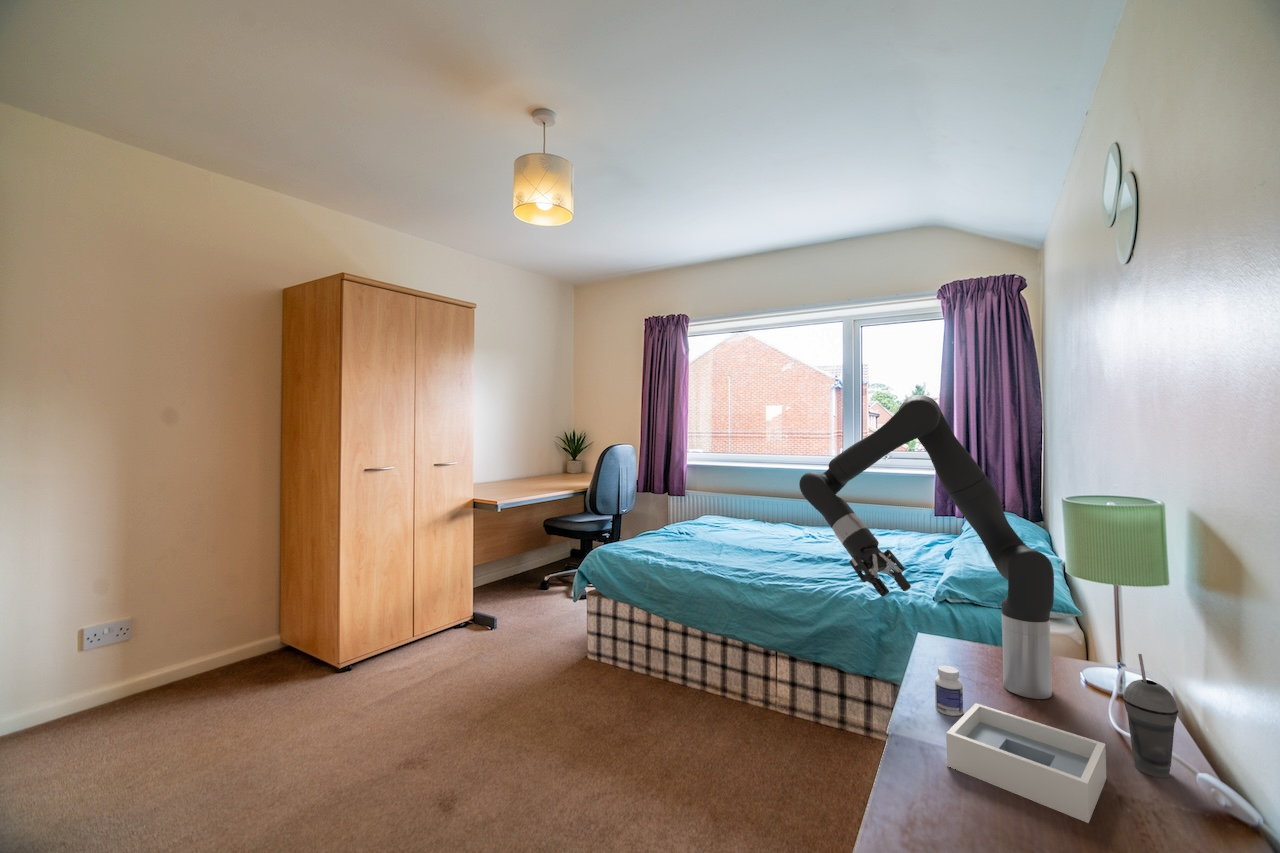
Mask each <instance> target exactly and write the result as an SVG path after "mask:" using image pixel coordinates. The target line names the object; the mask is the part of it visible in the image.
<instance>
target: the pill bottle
mask: <svg viewBox="0 0 1280 853" xmlns="http://www.w3.org/2000/svg"><path fill="white" fill-rule="evenodd" d="M959 672H960V671H959V669H958V668H956V667H953V666H950V665H939V666H938V667H937V674H938V675H937V676H936V677H935V679H934V691H935V692H934V693H935V694H934V698H935V699H934V700H935V703H934V704H935V709H936V711H938V712H939V713H942V714H944V715H946V716H950V717H951V716H954V717H959V716H963V715H964V697H963V696H964V693H963V683H962V681H961V680H960V673H959Z"/></svg>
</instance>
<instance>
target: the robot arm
mask: <svg viewBox="0 0 1280 853" xmlns="http://www.w3.org/2000/svg"><path fill="white" fill-rule="evenodd" d="M914 440H918V441H919V443H920V444H921V445H922V446H923V448H924V450H926V451H925V452H926V453H927V454H928V456H929V458H930V461H931V463H932V465H933V468H934V470H935V472H936V475H937V477H938V479H939V480H940V482H941V485H942V487H943V488H944V490H945V492H946V493H947V494H948V496H949V497H950V499H951V500H952V502H953V504H954V505H955V506H956V508H957V509H958V510H959V512H960V513H961V515H962V516H963V517H964V518H965V520H966V521H967V523H968V524H969V525H970V526H971V527H972V528H973V530H974V531H975V533H976V534H977V535H978V537H979V538H980V540H981V542H982V544H983V545H984V547H985V549H986V551H987V553H988V554H989V558H991V560H992V562H993V565H994V566H995V568H996V570H997V571H998V573H999V574H1000V575H1001V576H1002V577H1003V578H1004V579H1005V580H1007V597H1006V598H1005V599H1003V600H1002V601H1001V634H1002V636H1001V639H1002V640H1001V641H1002V642H1001V643H1002V675H1003V676H1002V678H1003V679H1002V680H1003V682H1002V683H1003V687H1004V689H1005V690H1007V691H1008V692H1011V693H1012V694H1015V695H1017V696H1020V697H1025V698H1029V699H1036V700H1046V699H1049V698H1052V696H1053V692H1052V691H1053V688H1052V655H1051V654H1052V653H1051V652H1052V647H1051V617H1050V616H1051V612H1052V609H1053V607H1054V602H1055V601H1054V598H1055V572H1054V567H1053V564H1052V562H1051V560H1050V559H1049V557H1048V556H1046V555H1045V554H1044V553H1042V552H1041V551H1038V550H1036V549H1033V548H1031V547H1029V546H1028V545H1027V544H1026V543H1025V542H1024V541H1023V540H1022V539H1021V538H1020V537H1019V535H1018V534H1017V533H1016V531H1015V530H1014V529H1013V527H1012V526H1011V523H1009V521H1008V519H1007V517H1006V514H1005V512H1004V507H1003V504H1002V502H1001V501H1002V500H1001V498H1000V496H999V494H998V492H997V490H996V489H995V487H994V486H993V484H992V482H991V481H990V480H989V478H988V476H987V475H986V474H985V472H984V471H983V469H982V468H981V467H980V466H979V464H978V463H977V461H976V460H975V459H974V458H973V457H972V455H971V454H970V453H969V451H967V449H966V448H965V447H964V445H962V444H961V442H960V441H959V440H958V438H957V437H956V436H955V433H954V432H953V431H952V429H951V427H950V425H949V424H948V422H947V420H946V418H945V416H944V414H943V412H942V410H941V408H940V406H939V404H938V403H937V402H936V400H934V399H933V398H931V397H929V396H928V395H924V394H914V395H911V396H910V397H909V396H908V397H907V398H906V399H905V400H904V401H903V402H902V403H901V405H900V406H899V408H898V409H897V411H896V412H895V414H893V416H891V418H890V419H889V420H887V421H886V422H885V423H884V424H883V425H882V426H881V427H879V428H878V429H877V430H876V431H875V430H874V432H873V433H870V434H869V435H867V436H866V437H864V438H862V439H861V440H859V441H857V442H855V443H854V444H852V445H851V446H849V447H848V448H845V450H844V451H842V452H840V453H839V454H838V455H837V456H835V457H833V459H831V461H829V463H828V469H827V470H825V471H824V472H823V473H818V472H815V471H813V472H812V471H811V472H807V473H804V474H803V475H802V476H801V477H800V479H799V490H800V492H801V494H802V495H803V498H804V499H806V501H807V502H809V504H810V505H811V506H812V507H813V508H814V509H815V510H816V511H817V512H819V513H820V514H821V515H822V517H823V519H824V520H825V521H826V522H827V524H828V525H829V526H830V528H831V529H832V531H833V532H834V535H835V536H836V538H837V539H838V541H839V542H840V543H841V545H842V546H843V547H844V549H845V550H846V552H848V554H849V555H850V557H851V559H850V560H849V564H850V565H851V567H852V569H853V570H854V572H855V573H856V574H857V576H858V577H859V579H860V580H861V582H862V583H867V582H868V584H870V585H872V587H873V588H874V589H875V590H876V592H877V593H878V594H879V595H880V597H882V598H884V597H887V595H889V594H890V590H889V588H888V587H887V586H886V585H885V583H884V582H883V580H882V579H881V578H880V577H879V573H883V574H885V575H886V574H888V576H891V578H893V580H894V581H895V582H896V584H897V585H898V586H899V588H900V589H901V590H902V592H907V591H908V590H910V589H911V588H912V586H911V584H910V582H909V581H908V580H907V578H906V577H905V576H904V575H903V571H904V570H905V567H904V565H903V564H902V563H901V561H900V560H899V559H898V558H897V557H896V555H895V554H893V552H892V551H891V550H890V549H886V550H885V551H881V550H880V548H879V544H880V543H879V540H878V539H877V538H876V537H875V535H874V534H873V533H872V532H871V531H870V529H869V528H868V526H867V525H866V524H865V523H864V522H863V519H861V518H860V517H859V516H858V515H857V514H856V513H855V511H854V510H853V509H852V508H851V506H850V505H849V503H847V501H846V500H844V499H843V498H841V497H840V496H838V495H837V494H838V493H840V491H841V490H842V489H843V488H845V486H846V485H847V483H848V482H850V481H851V480H853V479H854V478H856V477H857V476H859V475H860V474H862V473H863V472H865V471H866V470H867V469H869V468H870V467H871V466H873V465H875V464H876V463H877V462H879V460H881V459H883V458H884V457H885V456H886V455H888V454H890V453H891V452H893V451H895V450H897V449H898V448H900V447H902V446H903V445H905V444H908V443H911V442H912V441H914ZM863 572H864V574H863ZM878 572H879V573H878Z"/></svg>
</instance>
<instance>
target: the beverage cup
mask: <svg viewBox="0 0 1280 853" xmlns="http://www.w3.org/2000/svg"><path fill="white" fill-rule="evenodd" d="M1137 655H1138V662H1139V667H1140V672H1141V677H1142V678H1141V679H1137V680H1133V681H1131V682H1129V684H1128V685H1127V686H1126V687H1125V689H1124V692H1123V696H1122V700H1123V703H1124V706H1125V711H1126V714H1127V721H1128V728H1129V736H1130V743H1131V744H1130V745H1131V753H1132V758H1133V761H1134V766H1135V768H1136V769H1137V770H1138V771H1140V772H1142V773H1143V774H1145V775H1149V776H1152V777H1155V778H1162V779H1164V778H1165V779H1166V778H1169V777H1170V772H1171V767H1172V759H1173V758H1172V756H1173V747H1174V745H1173V744H1174V736H1175V735H1174V733H1175V724H1176V722H1177V718H1178V713H1179V708H1178V704H1177V702H1176V700H1175V698H1174V696H1173V695H1172V693H1171V692H1170V691H1169V690H1168V689H1167V688H1166V687H1165V686H1164V685H1162V684H1160V683H1158V682H1156V681H1154V680H1150V679H1147V676H1146V671H1145V665H1144V660H1143V655H1142V653H1137Z"/></svg>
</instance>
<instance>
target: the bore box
mask: <svg viewBox="0 0 1280 853" xmlns="http://www.w3.org/2000/svg"><path fill="white" fill-rule="evenodd" d="M945 734H946V736H945V738H946V739H945V740H946V766H947V767H948V768H950V767H951V769H952V770H955V769H956V770H955V771H958V772H961V773H962V774H966V775H968V776H970V777H973V778H975V779H978V780H980V781H983V782H985V783H988V784H990V785H992V786H996V787H997V788H1000V789H1003V790H1005V791H1007V792H1009V793H1012V794H1016V795H1018V796H1019V797H1022V798H1025V799H1027V800H1031V801H1033V802H1035V803H1037V804H1039V805H1042V806H1044V807H1047V808H1050V809H1052V810H1055V811H1057V812H1060V813H1062V814H1065V815H1066V816H1070V817H1071V818H1073V819H1076V820H1079V821H1082V822H1084V823H1086V824H1090V821H1091V819H1092V816H1093V813H1094V810H1095V809H1096V805H1097V804H1098V800H1099V799H1100V796H1101V793H1102V791H1103V788H1104V786H1105V783H1106V781H1107V756H1106V755H1107V753H1106V752H1107V751H1106V748H1107V747H1106V743H1104V742H1101V741H1098V740H1095V739H1092V738H1089V737H1085V736H1082V735H1079V734H1075V733H1073V732H1070V731H1066V730H1063V729H1060V728H1056V727H1053V726H1050V725H1046V724H1044V723H1040V722H1037V721H1034V720H1031V719H1029V718H1024V717H1021V716H1019V715H1015V714H1011V713H1009V712H1005V711H1001V710H999V709H996V708H992V707H989V706H986V705H984V704H981V703H976V702H975V703H974V704H973V705H972V706H971V707H970V708H969V709H968V710H967V711H966V712H965V713H963V714H962V715H961V717H960V718H959V719H958V720H957V721H956V722H955V723H954V724H953V725H952V726H951V727H950V728H949V730H947V731H946V733H945Z"/></svg>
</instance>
